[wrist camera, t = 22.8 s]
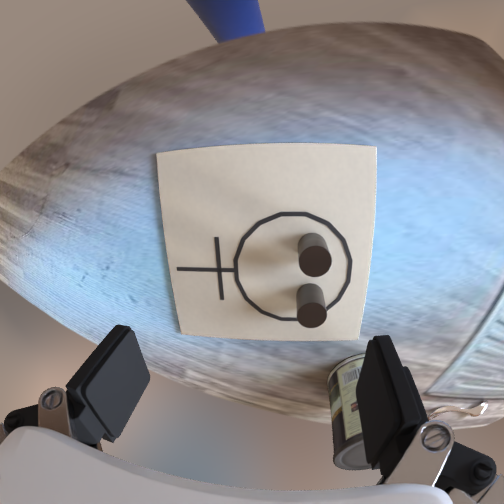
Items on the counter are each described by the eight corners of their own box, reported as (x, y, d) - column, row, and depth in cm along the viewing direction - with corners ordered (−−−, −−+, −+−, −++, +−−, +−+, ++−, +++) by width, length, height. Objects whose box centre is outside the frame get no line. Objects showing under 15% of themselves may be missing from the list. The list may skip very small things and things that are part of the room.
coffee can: (357, 405, 38) (367, 474, 25) (313, 383, 37) (315, 462, 24) (404, 368, 34) (429, 439, 21) (362, 341, 34) (385, 423, 20)
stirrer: (423, 432, 35) (436, 418, 33) (418, 419, 38) (430, 405, 36) (482, 417, 34) (494, 403, 33) (476, 407, 38) (487, 393, 36)
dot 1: (297, 232, 29) (298, 245, 25) (326, 232, 29) (333, 245, 25) (297, 260, 30) (298, 277, 26) (325, 260, 30) (330, 277, 26)
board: (158, 152, 29) (155, 153, 28) (374, 146, 25) (376, 146, 25) (182, 331, 37) (181, 334, 36) (357, 337, 33) (358, 340, 33)
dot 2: (296, 282, 31) (297, 302, 27) (324, 283, 31) (328, 302, 27) (295, 306, 32) (296, 328, 28) (322, 306, 32) (325, 328, 28)
